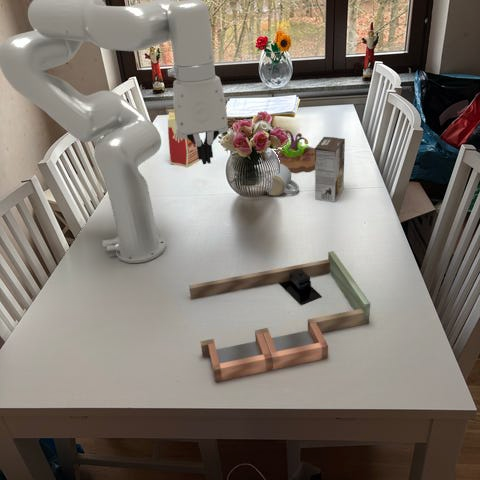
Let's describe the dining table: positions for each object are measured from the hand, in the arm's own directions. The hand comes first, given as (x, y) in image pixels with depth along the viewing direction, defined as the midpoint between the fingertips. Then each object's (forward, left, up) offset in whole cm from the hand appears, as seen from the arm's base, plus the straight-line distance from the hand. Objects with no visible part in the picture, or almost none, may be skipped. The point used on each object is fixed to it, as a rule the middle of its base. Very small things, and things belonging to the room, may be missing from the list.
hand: (206, 161), depth 104 cm
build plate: (+16, -14, -28) cm, 35 cm away
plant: (+36, +55, -28) cm, 72 cm away
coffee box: (+38, +27, -27) cm, 54 cm away
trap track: (+9, -22, -27) cm, 36 cm away
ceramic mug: (+25, +34, -27) cm, 51 cm away
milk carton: (0, +70, -27) cm, 75 cm away
